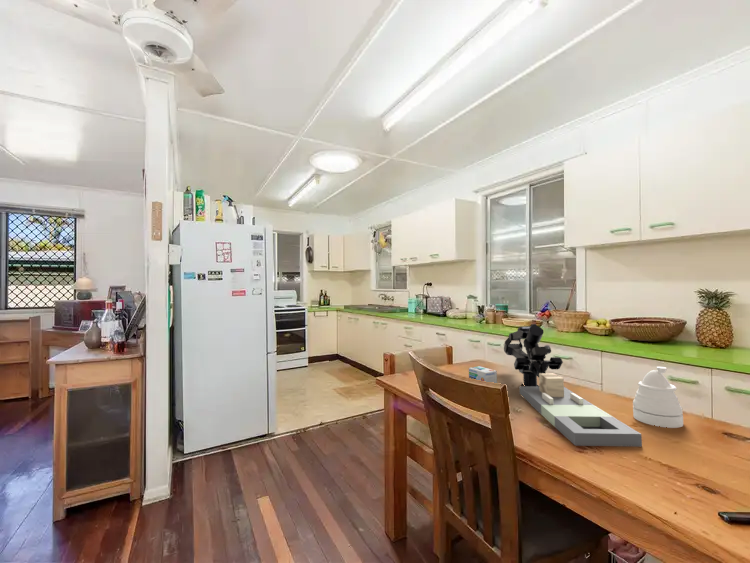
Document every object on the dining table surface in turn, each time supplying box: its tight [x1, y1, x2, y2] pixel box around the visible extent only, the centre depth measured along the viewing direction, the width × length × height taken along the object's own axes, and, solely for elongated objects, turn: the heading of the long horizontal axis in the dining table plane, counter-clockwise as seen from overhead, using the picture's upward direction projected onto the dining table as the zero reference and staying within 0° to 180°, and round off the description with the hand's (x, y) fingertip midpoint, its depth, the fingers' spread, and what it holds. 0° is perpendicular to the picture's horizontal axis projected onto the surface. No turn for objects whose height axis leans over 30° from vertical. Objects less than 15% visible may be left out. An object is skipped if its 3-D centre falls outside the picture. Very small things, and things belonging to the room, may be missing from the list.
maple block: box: [538, 372, 565, 397], centre depth 132 cm, size 8×6×7 cm
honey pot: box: [632, 366, 684, 429], centre depth 113 cm, size 13×13×18 cm
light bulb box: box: [468, 365, 498, 384], centre depth 145 cm, size 11×7×11 cm, turn 25°
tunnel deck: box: [519, 385, 643, 448], centre depth 119 cm, size 47×18×6 cm, turn 175°
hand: (543, 380), depth 139 cm, fingers closed
